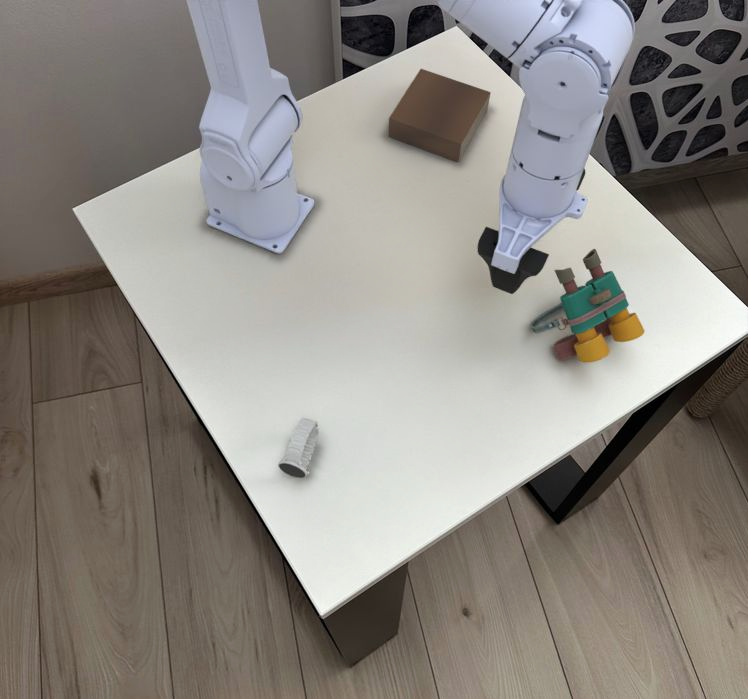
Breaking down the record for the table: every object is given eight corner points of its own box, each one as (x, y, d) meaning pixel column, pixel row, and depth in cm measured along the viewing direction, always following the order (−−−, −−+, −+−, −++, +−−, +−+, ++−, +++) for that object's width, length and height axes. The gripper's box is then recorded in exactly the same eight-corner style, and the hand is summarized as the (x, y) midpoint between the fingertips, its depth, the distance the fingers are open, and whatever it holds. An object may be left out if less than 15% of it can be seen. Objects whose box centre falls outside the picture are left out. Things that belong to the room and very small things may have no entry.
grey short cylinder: (280, 477, 71) (274, 457, 66) (299, 429, 73) (295, 407, 69) (309, 486, 70) (305, 468, 66) (328, 438, 73) (325, 417, 68)
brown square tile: (388, 136, 91) (388, 118, 88) (419, 87, 94) (420, 68, 92) (458, 162, 89) (461, 143, 86) (487, 111, 93) (490, 91, 90)
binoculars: (534, 367, 79) (588, 371, 69) (497, 286, 77) (547, 279, 68) (605, 326, 81) (667, 324, 71) (570, 247, 80) (628, 234, 70)
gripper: (568, 240, 54) (532, 334, 66) (628, 105, 61) (585, 214, 73) (476, 205, 56) (457, 304, 68) (543, 77, 62) (515, 188, 74)
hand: (518, 255), depth 70 cm, fingers open, 7 cm apart
